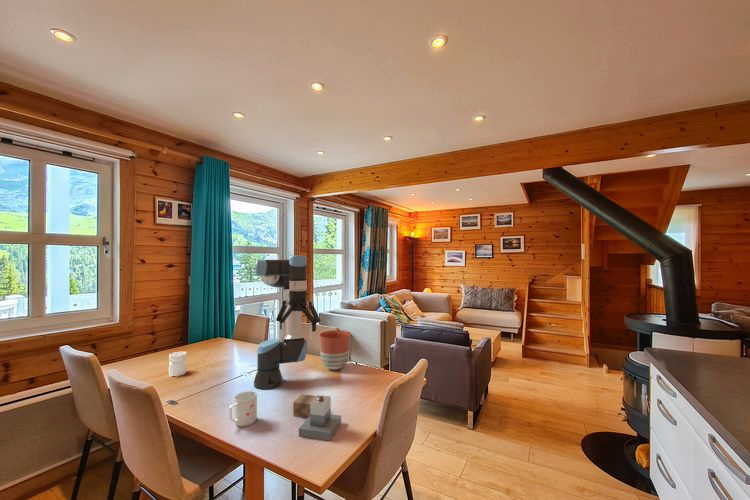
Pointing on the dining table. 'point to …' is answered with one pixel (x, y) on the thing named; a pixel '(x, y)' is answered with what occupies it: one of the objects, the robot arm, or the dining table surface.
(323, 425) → the block
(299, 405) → the walnut stand
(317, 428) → the slate stand
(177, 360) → the white lidded jar
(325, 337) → the planter
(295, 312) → the robot arm
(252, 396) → the mug
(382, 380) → the dining table surface
